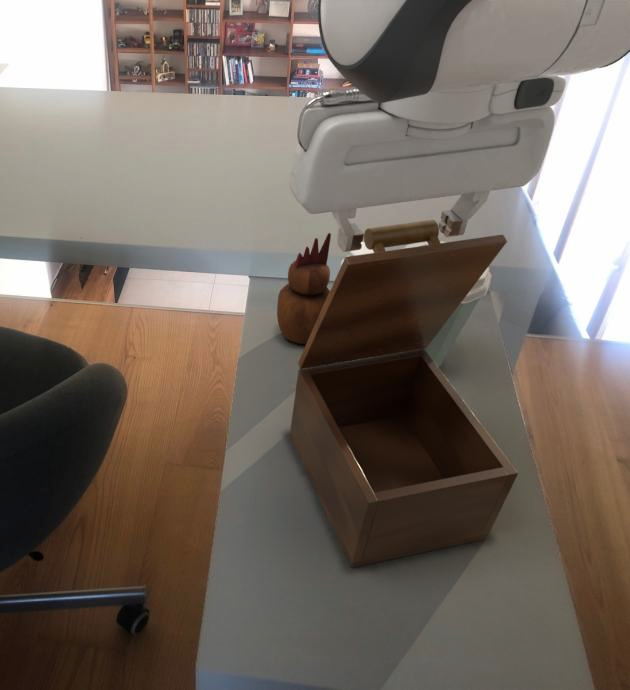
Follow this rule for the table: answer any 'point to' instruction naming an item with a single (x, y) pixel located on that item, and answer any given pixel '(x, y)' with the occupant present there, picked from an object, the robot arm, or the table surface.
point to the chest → (397, 457)
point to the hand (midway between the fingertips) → (399, 240)
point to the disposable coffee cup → (455, 317)
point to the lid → (396, 293)
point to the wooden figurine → (304, 293)
